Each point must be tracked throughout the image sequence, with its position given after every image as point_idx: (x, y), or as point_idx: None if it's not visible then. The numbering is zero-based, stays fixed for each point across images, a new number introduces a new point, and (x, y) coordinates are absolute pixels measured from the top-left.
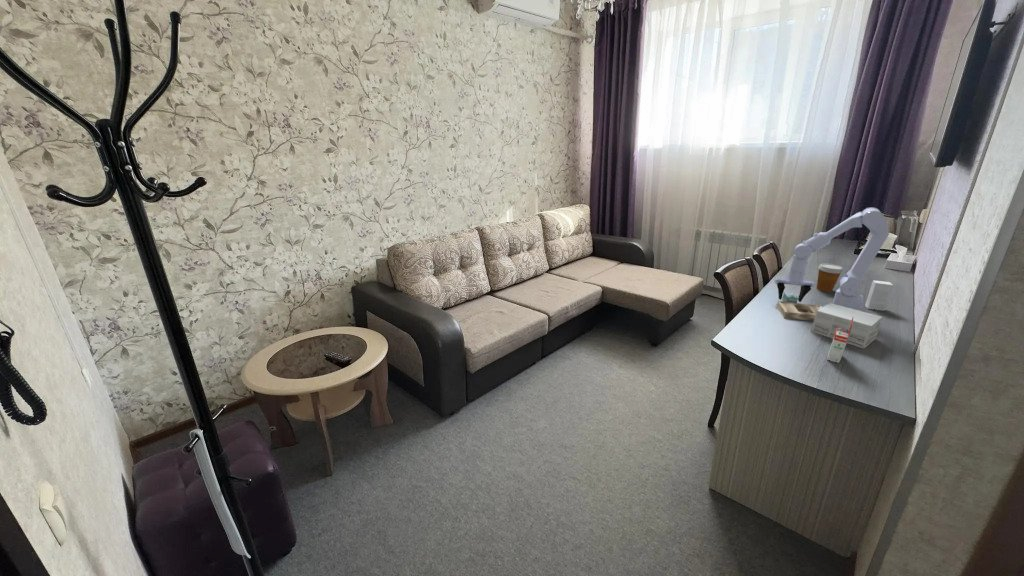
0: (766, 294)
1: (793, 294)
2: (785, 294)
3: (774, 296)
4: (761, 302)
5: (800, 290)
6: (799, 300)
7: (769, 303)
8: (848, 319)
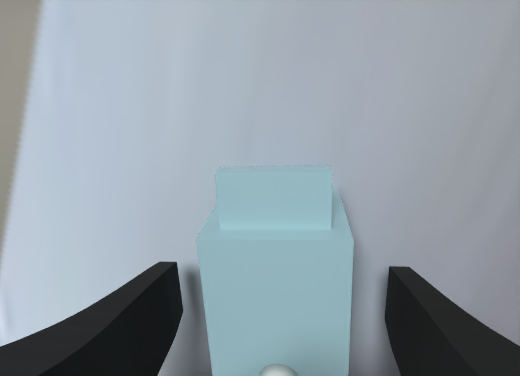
0: (58, 26)
1: (327, 293)
2: (207, 320)
3: (153, 74)
4: (26, 317)
5: (453, 348)
6: (388, 325)
7: None
8: None
